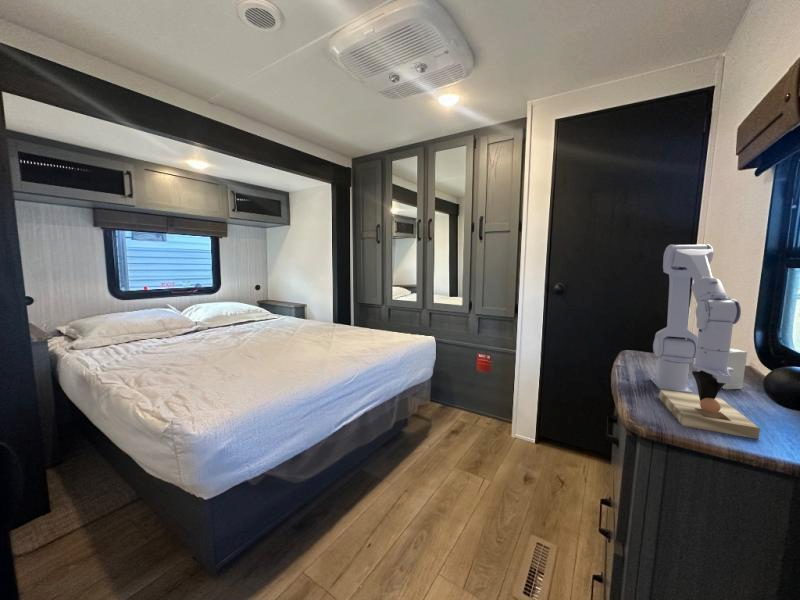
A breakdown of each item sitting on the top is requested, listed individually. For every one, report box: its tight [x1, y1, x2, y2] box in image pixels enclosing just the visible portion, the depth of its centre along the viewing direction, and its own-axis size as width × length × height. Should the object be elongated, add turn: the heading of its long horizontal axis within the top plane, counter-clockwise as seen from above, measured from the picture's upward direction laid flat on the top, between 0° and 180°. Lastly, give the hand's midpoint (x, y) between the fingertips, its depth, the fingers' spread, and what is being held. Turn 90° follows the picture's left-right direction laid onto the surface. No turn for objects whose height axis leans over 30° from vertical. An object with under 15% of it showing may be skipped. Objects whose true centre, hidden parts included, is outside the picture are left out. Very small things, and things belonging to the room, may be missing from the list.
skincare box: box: [721, 348, 748, 390], centre depth 99 cm, size 6×4×12 cm
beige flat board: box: [658, 388, 761, 440], centre depth 80 cm, size 18×13×2 cm
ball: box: [700, 398, 721, 413], centre depth 77 cm, size 4×4×4 cm
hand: (706, 402), depth 79 cm, fingers closed
